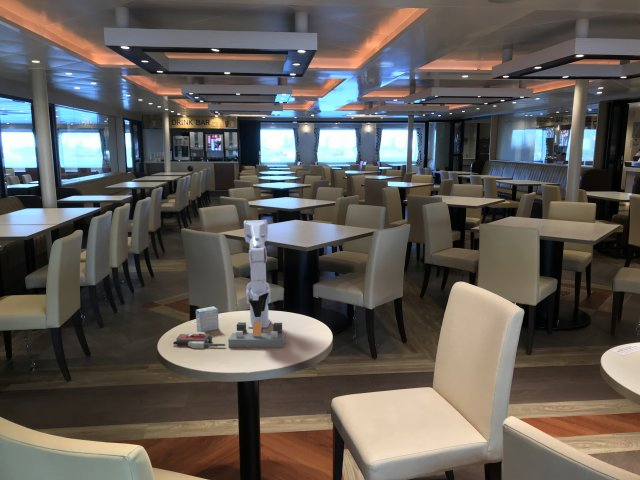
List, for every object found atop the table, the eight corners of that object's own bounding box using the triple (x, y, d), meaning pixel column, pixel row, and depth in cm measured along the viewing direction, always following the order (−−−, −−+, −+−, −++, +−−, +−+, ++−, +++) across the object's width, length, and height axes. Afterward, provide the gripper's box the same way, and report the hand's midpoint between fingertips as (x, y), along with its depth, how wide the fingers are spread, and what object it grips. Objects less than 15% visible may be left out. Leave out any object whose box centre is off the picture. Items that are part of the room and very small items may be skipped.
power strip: (232, 340, 198) (232, 327, 197) (285, 340, 196) (284, 328, 196) (228, 347, 191) (228, 334, 190) (282, 347, 189) (282, 334, 189)
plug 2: (277, 331, 206) (276, 317, 205) (284, 331, 206) (284, 317, 205) (273, 340, 197) (273, 325, 196) (281, 340, 197) (281, 325, 196)
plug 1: (242, 331, 207) (241, 317, 206) (249, 331, 207) (249, 317, 206) (237, 340, 198) (236, 324, 197) (244, 340, 198) (244, 325, 197)
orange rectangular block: (253, 335, 193) (253, 322, 195) (261, 335, 193) (261, 322, 194) (252, 335, 192) (253, 321, 194) (260, 335, 192) (261, 321, 193)
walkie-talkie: (171, 349, 191) (224, 349, 190) (170, 337, 190) (224, 338, 189) (179, 340, 200) (230, 341, 198) (178, 329, 199) (230, 330, 198)
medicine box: (215, 326, 214) (214, 306, 213) (219, 329, 211) (218, 308, 209) (196, 330, 210) (195, 309, 208) (200, 333, 206) (199, 312, 205)
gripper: (265, 283, 189) (266, 319, 191) (272, 275, 204) (273, 308, 206) (246, 283, 190) (247, 319, 192) (254, 275, 204) (255, 308, 206)
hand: (259, 313), depth 199 cm, fingers open, 7 cm apart
